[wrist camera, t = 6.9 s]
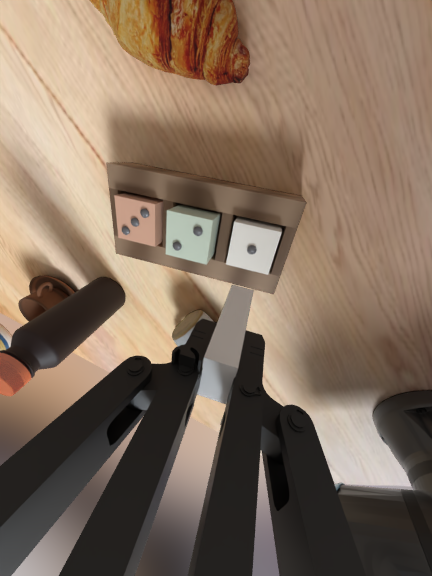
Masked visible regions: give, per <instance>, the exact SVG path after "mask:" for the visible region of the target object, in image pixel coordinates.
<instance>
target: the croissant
mask: <svg viewBox="0 0 432 576" xmlns="http://www.w3.org/2000/svg"><path fill="white" fill-rule="evenodd" d="M90 1H91V2H92V4H93V5H94V6H95V7H96V8H97V9H98V10H99V11H100V12H101V13H102V14H103V16H104V17H105V19H106V21H107V22H108V24H109V25H110V26H111V28H112V29H113V32H114V35H116V38H117V40H118V42H119V44H120V45H121V47H122V48H123V49H124V50H125V51H126V52H128V53H129V54H130V55H132V56H133V57H135V58H137V59H138V60H140V61H142V62H144V63H145V64H147V65H149V66H150V67H153V68H155V69H158V70H162V71H165V72H169V73H174V74H178V75H181V76H184V77H186V78H192V79H200V80H205V79H206V80H207V81H208V82H209V83H210V84H213V85H221V84H227V83H232V82H234V83H241V82H242V81H243V80H244V79H245V77H246V76H247V75H248V71H249V70H248V67H249V65H250V59H249V58H250V55H249V51H248V49H247V48H246V47H245V46H244V45H243V44H242V43H241V41H240V39H239V38H237V36H238V21H237V16H236V10H235V6H234V4H233V1H232V0H90Z"/></svg>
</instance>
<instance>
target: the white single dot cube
mask: <svg viewBox="0 0 432 576" xmlns="http://www.w3.org/2000/svg"><path fill="white" fill-rule="evenodd" d="M281 233H282V226H281V225H278V224H274V223H269V222H264V221H260V220H255V219H251V218H246V217H241V216H238V217H237V219H236V220H235V221H234V225H233V231H232V236H231V241H230V246H229V251H228V256H227V261H226V265H230V266H234V267H238V268H243V269H247V270H251V271H255V272H259V273H263V274H267V275H268V274H269V271H270V268H271V264H272V261H273V258H274V255H275V252H276V249H277V246H278V243H279V240H280V236H281Z"/></svg>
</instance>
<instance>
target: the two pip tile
mask: <svg viewBox="0 0 432 576" xmlns="http://www.w3.org/2000/svg"><path fill="white" fill-rule="evenodd" d="M219 221H220V213H216V212H211V211H206V210H202V209H197V208H193V207H188V206H183V205H178V206H176V207H173V208H171V209H169V210H167V222H166V255H170V256H174V257H178V258H182V259H186V260H190V261H194V262H198V263H202V264H206V265H207V263H208V262H209V260H210V259H211V258H212V256H213V255H214V252H215V246H216V240H217V233H218V227H219Z"/></svg>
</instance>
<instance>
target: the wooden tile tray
mask: <svg viewBox="0 0 432 576" xmlns="http://www.w3.org/2000/svg"><path fill="white" fill-rule="evenodd" d="M107 173H108V182H109V191H110V201H111V210H112V219H113V229H114V238H115V248H116V254H120V255H124V256H128V257H132V258H136V259H140V260H143V261H147V262H151V263H155V264H159V265H163V266H167V267H170V268H174V269H178V270H182V271H186V272H190V273H194V274H197V275H201V276H205V277H209V278H213V279H217V280H221V281H224V282H228V283H232V284H236V285H240V286H244V287H248V288H251V289H255V290H259V291H263V292H267V293H271V294H274V292H275V289H276V286H277V284H278V281H279V278H280V275H281V272H282V270H283V267H284V264H285V261H286V258H287V256H288V253H289V250H290V247H291V244H292V242H293V239H294V236H295V233H296V230H297V228H298V225H299V222H300V219H301V216H302V214H303V211H304V208H305V205H306V201H305V200H304V199H303V197H302V196H299V195H294V194H289V193H284V192H279V191H274V190H269V189H264V188H258V187H253V186H248V185H243V184H238V183H233V182H228V181H223V180H218V179H213V178H208V177H203V176H197V175H192V174H187V173H182V172H177V171H172V170H167V169H162V168H157V167H152V166H147V165H142V164H136V163H107ZM128 192H131V193H135V194H140V195H144V196H149V197H154V198H158V199H163V242H161V243H160V244H158V245H157V246H156V247H154V246H150V245H146V244H142V243H138V242H134V241H130V240H126V239H122V238H118V229H117V218H116V208H115V198H114V195H118V194H123V193H128ZM178 205H183V206H188V207H193V208H197V209H202V210H206V211H211V212H216V213H220V221H219V227H218V233H217V240H216V246H215V252H214V255H213V256H212V258H211V259H210V260H209V262H208V263H207V265H206V264H202V263H198V262H194V261H190V260H186V259H182V258H178V257H174V256H170V255H166V222H167V210H169V209H171V208H173V207H176V206H178ZM238 216H241V217H246V218H251V219H255V220H260V221H264V222H269V223H274V224H278V225H281V226H282V233H281V236H280V240H279V243H278V246H277V249H276V252H275V255H274V258H273V261H272V264H271V268H270V271H269V274H268V275H267V274H263V273H259V272H255V271H251V270H247V269H243V268H238V267H234V266H230V265H226V261H227V256H228V251H229V246H230V241H231V236H232V231H233V225H234V221H235V220H236V219H237V217H238Z"/></svg>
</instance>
